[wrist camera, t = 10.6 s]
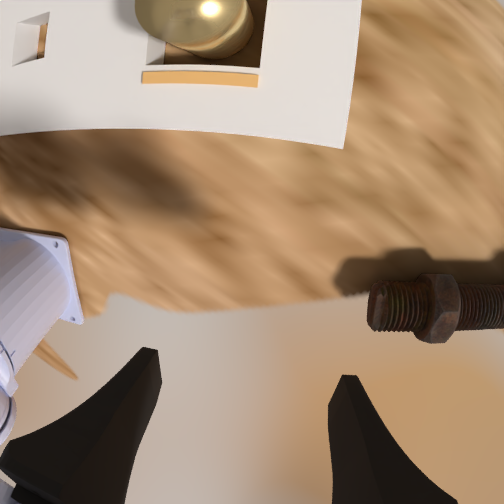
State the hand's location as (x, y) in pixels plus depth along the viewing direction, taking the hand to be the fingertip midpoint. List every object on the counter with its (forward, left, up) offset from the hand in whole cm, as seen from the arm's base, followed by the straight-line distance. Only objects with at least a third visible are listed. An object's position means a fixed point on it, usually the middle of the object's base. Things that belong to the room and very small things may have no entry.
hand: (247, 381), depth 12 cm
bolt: (+14, 0, -10) cm, 18 cm away
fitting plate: (-9, +14, -9) cm, 19 cm away
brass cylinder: (-4, +14, -9) cm, 17 cm away
